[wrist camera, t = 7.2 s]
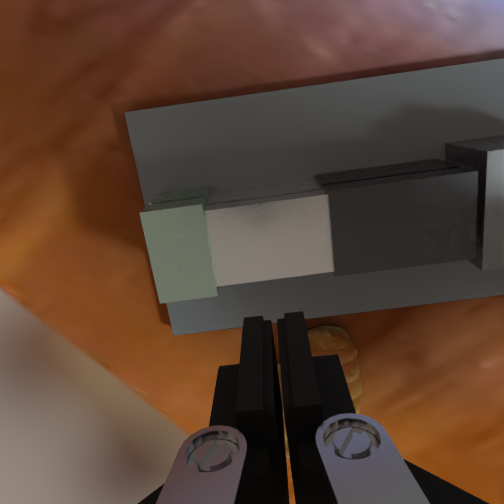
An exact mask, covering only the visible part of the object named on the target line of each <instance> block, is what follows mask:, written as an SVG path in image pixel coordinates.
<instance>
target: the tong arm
mask: <svg viewBox="0 0 504 504" xmlns="http://www.w3.org/2000/svg"><path fill="white" fill-rule="evenodd" d="M477 192H478V171H477V170H474V169H470V168H467V167H458V168H450V169H443V170H435V171H428V172H421V173H413V174H406V175H398V176H391V177H383V178H376V179H369V180H361V181H354V182H346V183H339V184H332V185H324V190H316V191H309V192H302V193H294V194H287V195H279V196H272V197H265V198H257V199H250V200H242V201H235V202H227V203H220V204H213V205H206V201H205V197H203V198H196V199H188V200H181V201H174V202H166V203H159V204H151V205H146V206H145V207H144V208H143V209H142V210H141V212H140V213H139V214H140V218H141V223H142V227H143V231H144V236H145V240H146V245H147V249H148V253H149V258H150V262H151V267H152V271H153V276H154V280H155V284H156V289H157V293H158V298H159V302H160V304H161V303H169V302H176V301H184V300H192V299H200V298H208V297H215V296H218V293H219V286H226V285H234V284H241V283H249V282H257V281H265V280H272V279H280V278H288V277H296V276H303V275H311V274H319V273H327V272H333V274H334V276H335V277H336V276H344V275H352V274H360V273H368V272H375V271H383V270H391V269H399V268H407V267H414V266H422V265H430V264H438V263H445V262H453V261H461V260H469V259H475V241H476V217H477Z"/></svg>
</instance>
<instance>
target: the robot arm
mask: <svg viewBox="0 0 504 504" xmlns="http://www.w3.org/2000/svg"><path fill="white" fill-rule="evenodd" d="M277 326H278V341H279V355H280V370H281V384H282V397H281V390H280V382H279V375H278V367H277V360H276V352H275V345H274V337H273V330H272V322H271V320H264V318H263V316H254V317H245V318H244V320H243V332H242V343H241V354H240V364H235V365H225V366H220V367H219V369H218V375H217V381H216V387H215V393H214V399H213V405H212V411H211V417H210V423H209V427H207V428H203V429H200V430H199V431H197V432H195V433H193V434H192V435H191V436H189V437H188V438H187V439H186V440H185V441H184V442H183V444H182V446H181V447H180V449H179V451H178V453H177V456H176V458H175V460H174V463H173V465H172V468H171V470H170V472H169V474H168V477H167V479H166V481H165V483H164V484H163V485H162V486H160V487H159V488H158V489H157V490H155V491H154V492H153V493H151V494H150V495H149V496H147V497H146V498H145V499H143V500H142V501H141V502H139V503H138V504H289V492H288V477H287V462H286V447H285V433H284V418H285V426H286V434H287V441H288V449H289V456H290V464H291V471H292V479H293V486H294V494H295V501H296V504H489V503H487V502H485V501H483V500H481V499H479V498H477V497H475V496H473V495H471V494H470V493H468V492H466V491H464V490H462V489H460V488H458V487H456V486H454V485H452V484H450V483H448V482H447V481H445V480H443V479H441V478H439V477H437V476H435V475H433V474H431V473H429V472H427V471H425V470H424V469H422V468H420V467H418V466H416V465H414V464H412V463H410V462H408V461H406V460H404V459H403V458H402V456H401V455H400V453H399V452H398V450H397V448H396V447H395V445H394V443H393V442H392V440H391V438H390V437H389V435H388V433H387V432H386V430H385V429H384V428H383V427H382V426H381V424H380V423H378V422H377V421H375V420H374V419H372V418H370V417H367V416H364V415H361V414H356V411H355V408H354V405H353V401H352V398H351V395H350V391H349V388H348V385H347V382H346V378H345V375H344V372H343V369H342V365H341V362H340V359H339V356H338V354H333V355H323V356H313V357H312V353H311V348H310V343H309V338H308V333H307V328H306V323H305V318H304V313H303V311H299V312H290V313H284V318H282V319H277ZM282 399H283V406H282ZM283 410H284V418H283Z"/></svg>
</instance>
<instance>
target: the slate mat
mask: <svg viewBox="0 0 504 504" xmlns="http://www.w3.org/2000/svg"><path fill="white" fill-rule="evenodd" d="M124 114H125V118H126V123H127V127H128V132H129V136H130V141H131V145H132V150H133V154H134V159H135V163H136V168H137V172H138V177H139V182H140V186H141V191H142V195H143V200H144V204H145V206H146V205H149V202H150V201H151V200H152V199H153V198H154V197H155V196H156V195H157V194H158V193H159V192H165V191H173V190H180V189H188V188H195V187H202V186H210V187H211V192H217V191H224V190H232V189H239V188H247V187H254V186H261V185H269V184H276V183H284V182H291V181H298V180H306V179H313V178H314V175H317V174H325V173H332V172H339V171H347V170H354V169H362V168H369V167H376V166H384V165H391V164H399V163H406V162H413V161H421V160H428V159H436V158H437V159H440V160H443V161H445V143H448V142H456V141H463V140H470V139H478V138H485V137H492V136H500V135H504V58H502V59H495V60H488V61H481V62H474V63H467V64H460V65H453V66H446V67H439V68H432V69H425V70H418V71H411V72H404V73H396V74H389V75H382V76H375V77H368V78H361V79H354V80H347V81H340V82H333V83H326V84H319V85H312V86H305V87H298V88H291V89H284V90H277V91H270V92H263V93H256V94H249V95H242V96H235V97H228V98H221V99H214V100H207V101H200V102H193V103H186V104H178V105H171V106H164V107H157V108H150V109H143V110H136V111H129V112H124ZM498 295H504V268H499V269H491V270H483V271H482V270H480V269H479V268H478V267H476V266H475V265H473V264H472V263H471V262H469V261H468V260H461V261H453V262H445V263H438V264H430V265H422V266H414V267H407V268H399V269H391V270H383V271H375V272H368V273H360V274H352V275H344V276H336V277H335V276H334V274H333V272H327V273H319V274H311V275H303V276H296V277H288V278H280V279H272V280H265V281H257V282H249V283H241V284H234V285H226V286H219V293H218V296H215V297H208V298H200V299H192V300H184V301H176V302H169V303H166V304H167V308H168V313H169V318H170V322H171V327H172V331H173V335H182V334H190V333H198V332H206V331H214V330H222V329H230V328H238V327H243V320H244V318H245V317H254V316H263V318H264V320H271V322H272V323H277V319H282V318H284V313H290V312H299V311H303V313H304V318H305V319H311V318H319V317H327V316H336V315H344V314H352V313H360V312H368V311H376V310H384V309H392V308H400V307H408V306H417V305H425V304H433V303H441V302H449V301H457V300H465V299H473V298H481V297H489V296H498Z"/></svg>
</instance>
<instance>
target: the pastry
mask: <svg viewBox="0 0 504 504" xmlns="http://www.w3.org/2000/svg"><path fill="white" fill-rule="evenodd" d="M307 333H308V338H309V343H310V348H311V353H312V357H313V356H323V355H333V354H338V356H339V359H340V362H341V365H342V369H343V372H344V375H345V378H346V382H347V385H348V388H349V391H350V395H351V398H352V401H353V405H354V408H355V411H356V414H359V409H360V406H361V403H362V399H363V397H362V382H361V373H360V369H359V363H358V350H357V349H356V347H355V346H354V344H353V343H352V341H351V340H350V338H349V336H348V334H347V333H346V331H345V330H343V329H342V328H340V327H335V326H320V327H316V328H312V329H310V330H307ZM277 367H278V375H279V382H280V390H281V397H282V384H281V370H280V363H279V364H278V365H277ZM282 406H283V399H282ZM283 418H284V410H283ZM284 433H285V447H286V458H289V459H290V456H289V449H288V441H287V434H286V426H285V418H284Z"/></svg>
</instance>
